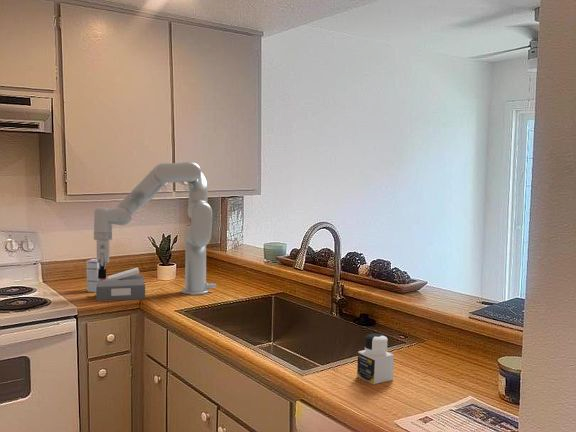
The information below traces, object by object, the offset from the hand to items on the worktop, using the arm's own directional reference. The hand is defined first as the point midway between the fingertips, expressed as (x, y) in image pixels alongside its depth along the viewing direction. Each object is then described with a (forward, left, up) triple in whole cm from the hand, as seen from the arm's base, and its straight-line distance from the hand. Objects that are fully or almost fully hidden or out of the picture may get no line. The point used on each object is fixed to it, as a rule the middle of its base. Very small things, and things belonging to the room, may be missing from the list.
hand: (102, 278), depth 236 cm
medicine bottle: (-74, +115, -9) cm, 137 cm away
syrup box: (+3, -15, -9) cm, 18 cm away
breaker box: (-8, 0, -9) cm, 12 cm away
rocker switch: (-8, 0, 0) cm, 8 cm away
